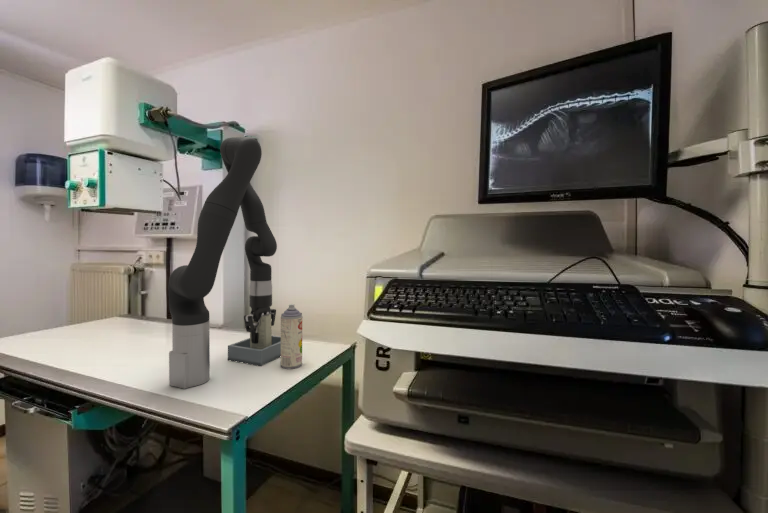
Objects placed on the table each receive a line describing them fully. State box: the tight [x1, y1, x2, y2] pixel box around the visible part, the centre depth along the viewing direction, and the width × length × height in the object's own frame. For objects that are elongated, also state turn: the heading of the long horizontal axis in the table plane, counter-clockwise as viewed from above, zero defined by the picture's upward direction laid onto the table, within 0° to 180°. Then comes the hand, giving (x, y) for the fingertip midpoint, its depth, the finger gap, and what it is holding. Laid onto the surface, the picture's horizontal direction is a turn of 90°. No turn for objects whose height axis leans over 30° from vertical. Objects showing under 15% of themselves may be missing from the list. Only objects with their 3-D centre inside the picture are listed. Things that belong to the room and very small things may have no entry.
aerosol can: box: [280, 303, 303, 370], centre depth 110 cm, size 7×7×20 cm
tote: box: [227, 335, 281, 367], centre depth 119 cm, size 16×14×5 cm
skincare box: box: [249, 314, 273, 350], centre depth 118 cm, size 6×4×12 cm
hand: (260, 340), depth 118 cm, fingers closed on skincare box, 5 cm apart
